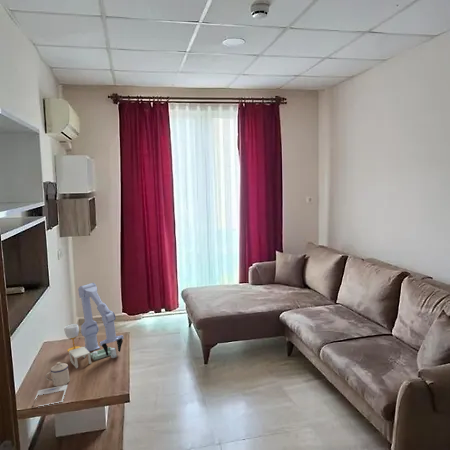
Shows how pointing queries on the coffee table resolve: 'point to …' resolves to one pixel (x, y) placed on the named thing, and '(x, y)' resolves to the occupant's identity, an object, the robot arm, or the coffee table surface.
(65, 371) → the teacup with lid
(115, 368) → the coffee table surface
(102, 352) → the tray
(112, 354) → the round-ended grey cylinder
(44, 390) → the photo frame
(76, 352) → the shelf
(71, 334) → the cup
